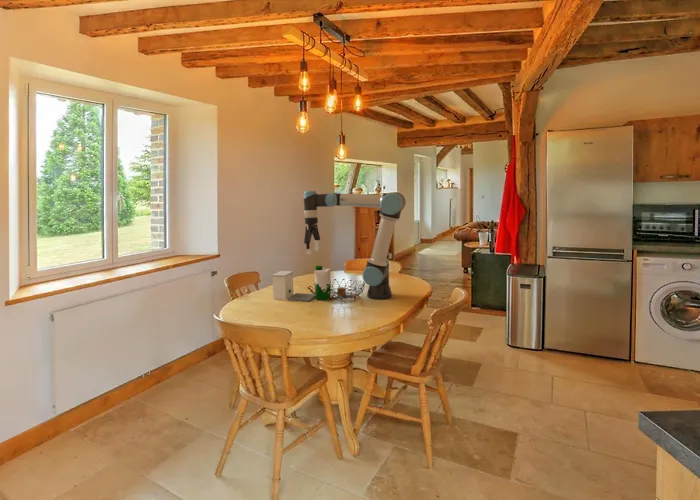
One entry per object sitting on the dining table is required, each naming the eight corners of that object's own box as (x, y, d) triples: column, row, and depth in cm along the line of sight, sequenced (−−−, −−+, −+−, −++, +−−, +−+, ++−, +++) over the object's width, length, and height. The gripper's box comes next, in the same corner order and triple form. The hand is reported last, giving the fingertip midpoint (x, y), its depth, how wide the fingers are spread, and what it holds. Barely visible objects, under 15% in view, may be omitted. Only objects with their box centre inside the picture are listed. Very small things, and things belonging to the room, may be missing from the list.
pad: (317, 295, 273) (317, 294, 273) (309, 301, 259) (309, 300, 259) (296, 294, 277) (296, 293, 276) (287, 300, 263) (287, 298, 263)
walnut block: (345, 295, 274) (345, 287, 273) (345, 297, 269) (345, 289, 268) (337, 295, 274) (337, 287, 273) (337, 297, 269) (337, 289, 268)
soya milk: (317, 296, 271) (317, 264, 268) (332, 297, 269) (331, 265, 266) (313, 300, 262) (313, 267, 259) (328, 301, 260) (327, 267, 257)
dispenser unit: (294, 294, 276) (293, 271, 274) (286, 299, 264) (285, 275, 262) (281, 294, 279) (280, 270, 276) (272, 299, 267) (271, 274, 264)
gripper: (312, 215, 272) (314, 249, 275) (297, 219, 249) (299, 256, 252) (323, 215, 270) (325, 249, 273) (309, 218, 247) (311, 256, 250)
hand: (313, 252), depth 263 cm, fingers open, 13 cm apart
